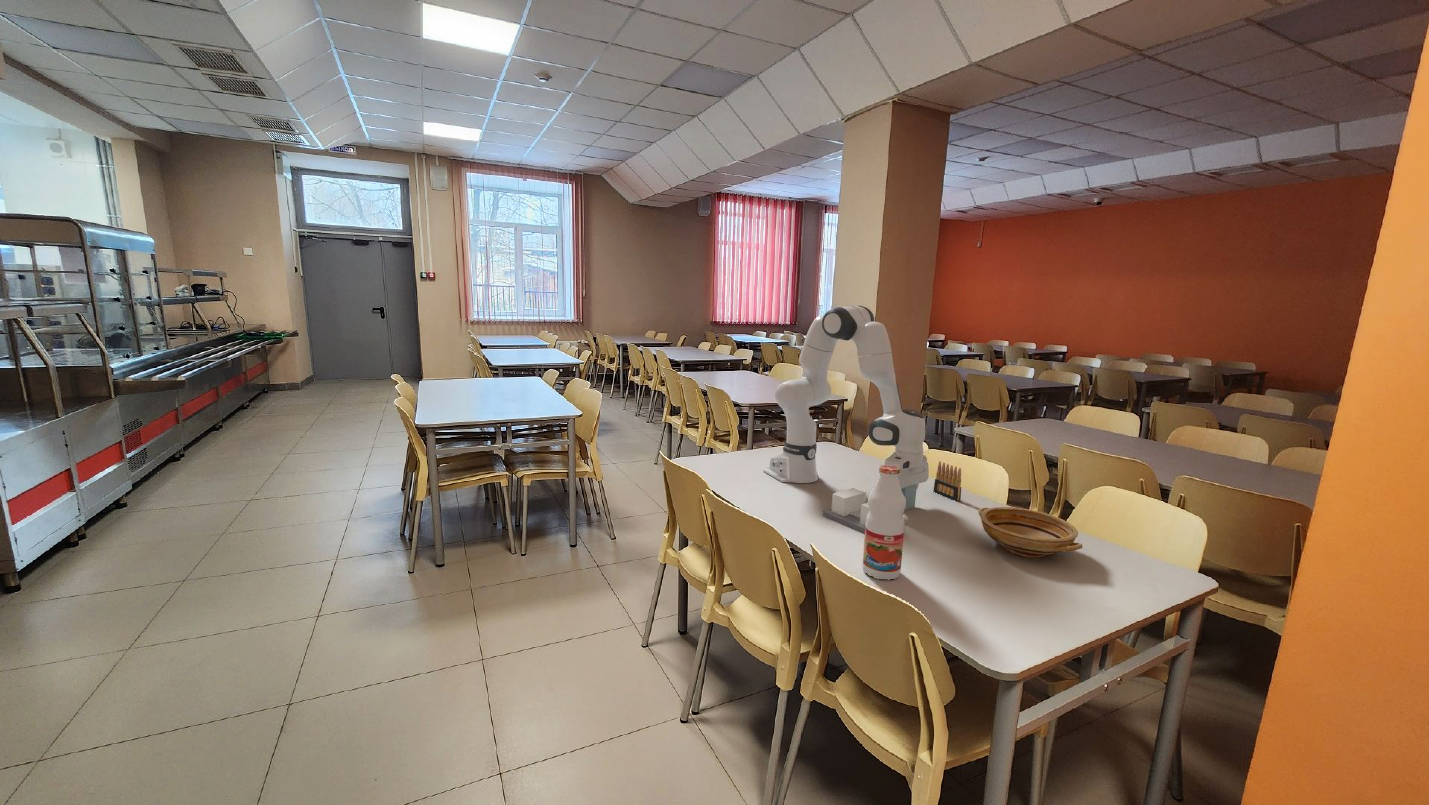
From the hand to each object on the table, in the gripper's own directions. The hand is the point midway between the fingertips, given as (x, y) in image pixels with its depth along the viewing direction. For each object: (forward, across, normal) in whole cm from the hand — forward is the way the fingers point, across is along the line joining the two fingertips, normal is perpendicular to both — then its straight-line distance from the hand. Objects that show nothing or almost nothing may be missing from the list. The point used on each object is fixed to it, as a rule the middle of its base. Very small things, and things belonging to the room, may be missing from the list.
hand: (905, 498), depth 190 cm
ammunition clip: (+3, -22, +2) cm, 22 cm away
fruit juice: (+3, +45, +25) cm, 52 cm away
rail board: (+3, +22, 0) cm, 22 cm away
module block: (+3, 0, 0) cm, 3 cm away
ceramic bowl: (+3, -1, +39) cm, 39 cm away
